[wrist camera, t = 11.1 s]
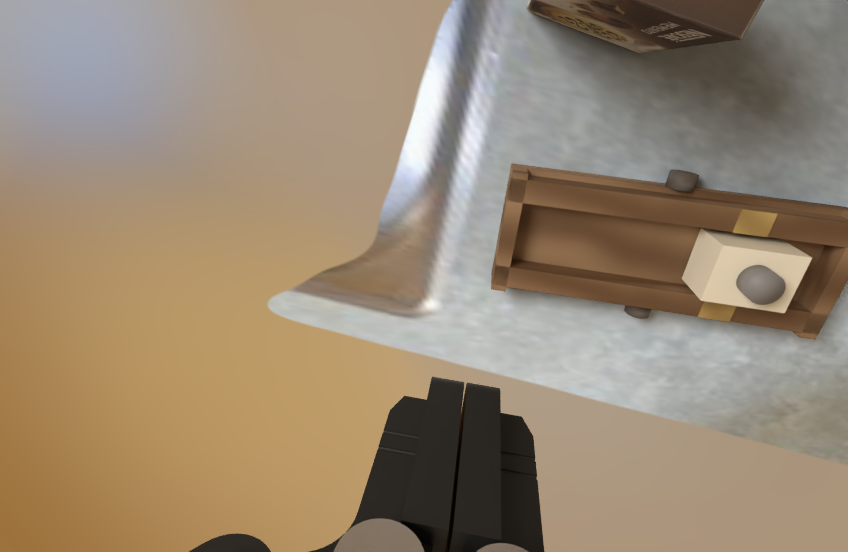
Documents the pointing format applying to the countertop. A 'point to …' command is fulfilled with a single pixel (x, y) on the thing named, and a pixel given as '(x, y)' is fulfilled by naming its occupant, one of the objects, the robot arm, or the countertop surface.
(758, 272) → the rider
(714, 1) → the coffee box
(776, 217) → the wooden slider track
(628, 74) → the countertop surface
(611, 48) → the countertop surface
